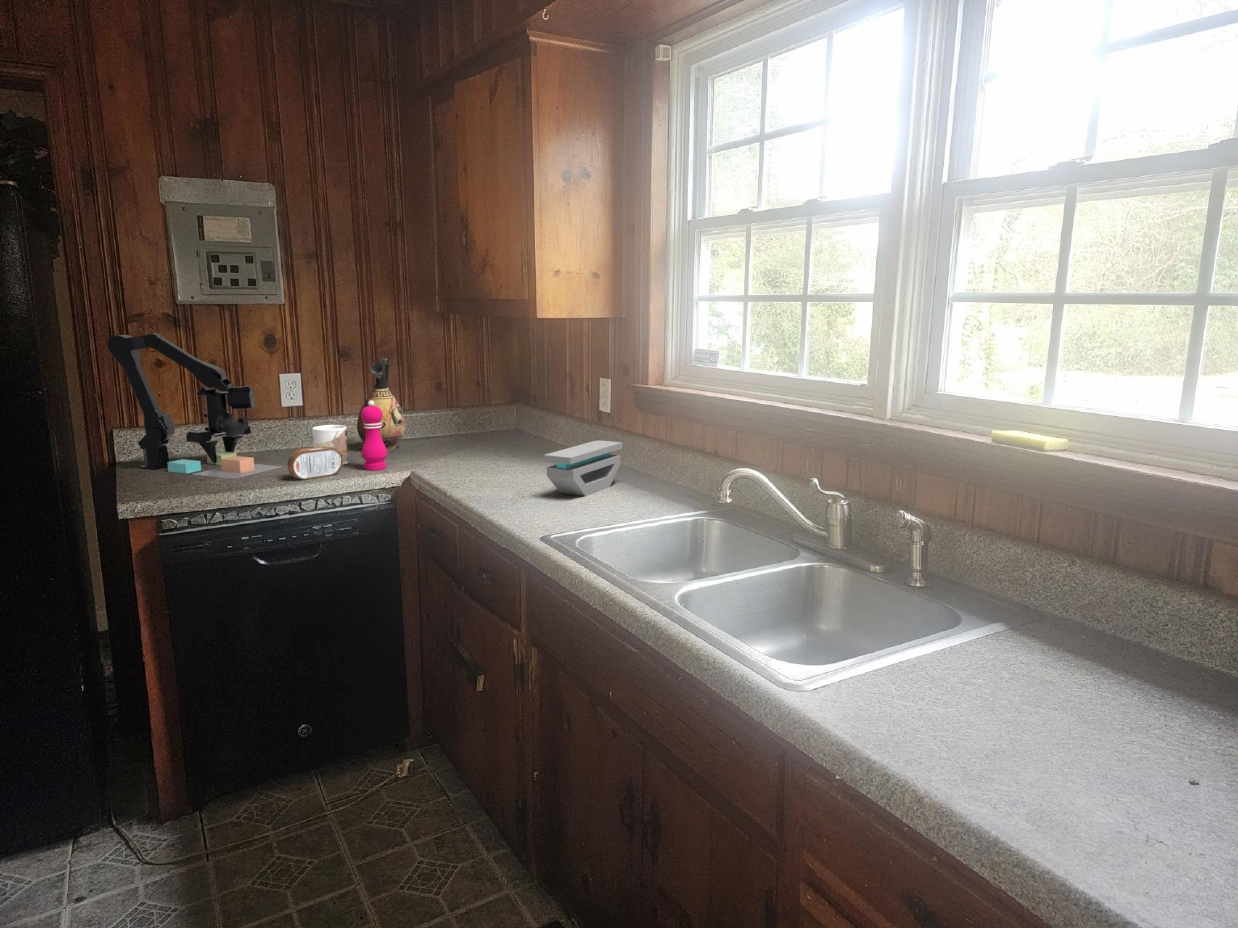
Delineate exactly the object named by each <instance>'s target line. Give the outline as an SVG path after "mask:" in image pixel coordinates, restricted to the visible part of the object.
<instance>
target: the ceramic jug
mask: <svg viewBox="0 0 1238 928" xmlns="http://www.w3.org/2000/svg"><path fill="white" fill-rule="evenodd" d="M368 371H369V373H370V374H371V375H373V376H374V377H375V384H374V387H373V389H372V390H371V392H370V393H369V394H368V396H367V398H366V400H365V401H364V402H363V404H362V406H361V408H360V410H359V413H358V416H357V423H356V431H357V433H358V436H359V438H360V440H361V441H362V442H363V443H364V442H365V438H366V430H365V428H364V423H365V422H364V420H363V419H362V418H361V412H362V410H363V409H364V408H365V407H367V406H369V405H368V402H369V401H374V406H377V407H379V408H380V409H381V410H382V413H383V417H382V419H381V421H380V422H381V426H382V427H381V428H380V434H381V438H382V441H383V443H384V445H385V447H386V449H387V452H390V451H391V452H392V451H394V450H396V448H397V445H398V444H399V442H400V441H401V440H402V438H403V437H404V435H405V432H406V427H407V426H406V425H407V424H406V418H405V414H404V412H403V408H402V407H401V406H400V403H399V401H397V399H396V398H395V396H394V395H393V394H392V393H391V391H390V390H389V386H388V381H389V375H390V374H389V373H390V359H388V358H386V357H383V358H380V359H379V360H378V362H377V364H376V363H372V364H371V365H370V366H369V368H368Z"/></svg>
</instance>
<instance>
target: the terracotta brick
mask: <svg viewBox="0 0 1238 928" xmlns="http://www.w3.org/2000/svg"><path fill="white" fill-rule="evenodd" d="M254 460H255V459H254V457H252V456H251V457H250V456H240V455H237V456H233V457H229V458H224V459H221V464H222V465H221V468H222V471H226V472H236V473H242V472H247V471H251V470H255V469H254V464H255V461H254Z"/></svg>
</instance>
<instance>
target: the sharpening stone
mask: <svg viewBox="0 0 1238 928" xmlns="http://www.w3.org/2000/svg"><path fill="white" fill-rule="evenodd" d="M621 449H623V442H620V441H609V440H598V439H597V440H593V441H589V442H587V443H582V444H578V445H575V446H570V447H567V448H565V449H564V448H563V449H559V450H558V451H557V450H556V451H553V452H549V453H546V454H543V461H544V462H548V463H555V464H553V465H550V466H547V467H546V477H547V479H548V480H549V481H551V483H552V485H553V486H554V487H555V488H556V489H557V491H559V493H560V494H569V495H574V496H575V495H576V496H582V497H589V496H590V495H593V494H595V493H598V492H600V491H603V490H606V489H609V488H611V485H612V483H613V481H614V480H615V479H614V478H615V477H616V474H617V472H618V470H619V468H620V466H621V455H619V454H612V453H613V452H615V451H617V450H621Z"/></svg>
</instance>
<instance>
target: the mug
mask: <svg viewBox="0 0 1238 928" xmlns="http://www.w3.org/2000/svg"><path fill="white" fill-rule="evenodd" d="M347 427H348V426H347V425H343V424H326V425H325V424H324V425H317V426H313V427H312V429H311V430H312V431H311V432H312V442H313V445H312V446H313V448H315V447H324V446H330V447H333V448H335V449H337V450H338V451H339V452H340V453H341V454H342V457H343V465H346V464H349V463H350V457H349V440H348V428H347Z"/></svg>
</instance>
